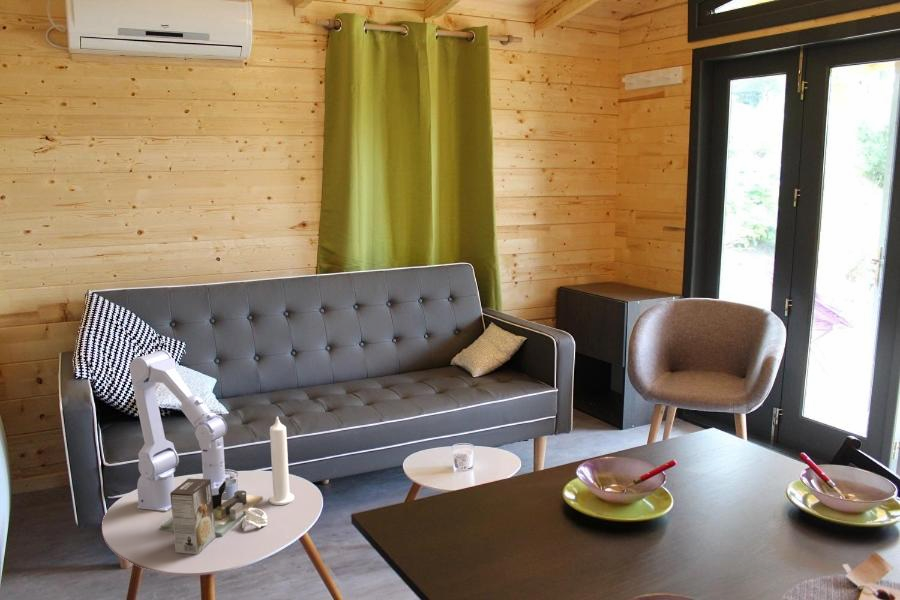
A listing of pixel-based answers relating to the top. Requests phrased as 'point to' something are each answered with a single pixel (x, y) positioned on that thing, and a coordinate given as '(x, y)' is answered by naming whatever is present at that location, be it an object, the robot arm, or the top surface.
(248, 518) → the white curved piece
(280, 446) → the candle
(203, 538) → the coffee box
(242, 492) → the bar
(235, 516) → the door and jamb
